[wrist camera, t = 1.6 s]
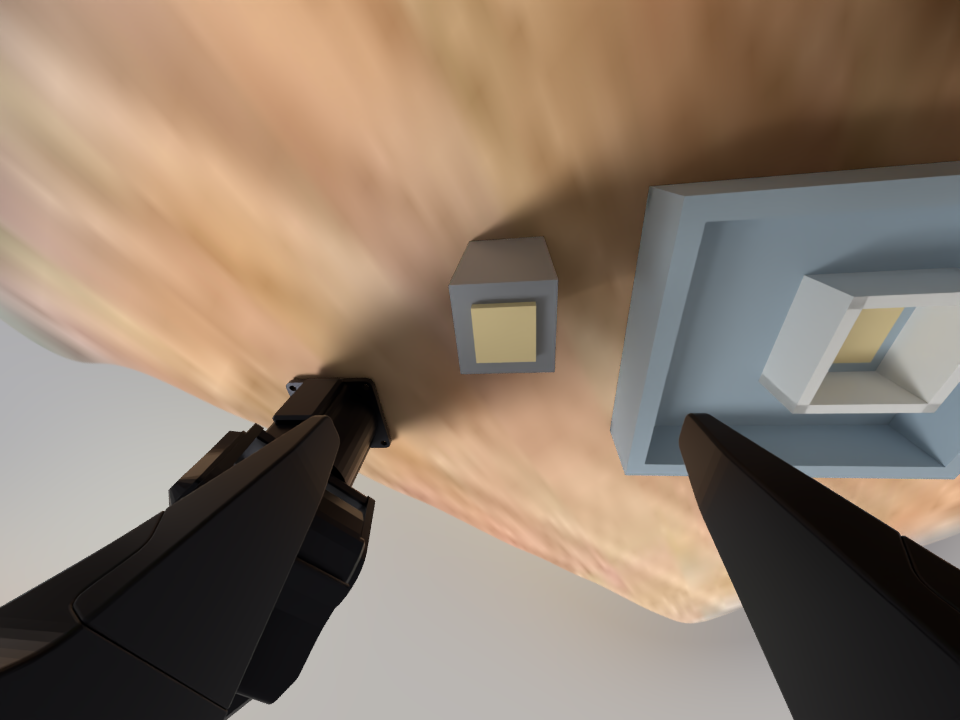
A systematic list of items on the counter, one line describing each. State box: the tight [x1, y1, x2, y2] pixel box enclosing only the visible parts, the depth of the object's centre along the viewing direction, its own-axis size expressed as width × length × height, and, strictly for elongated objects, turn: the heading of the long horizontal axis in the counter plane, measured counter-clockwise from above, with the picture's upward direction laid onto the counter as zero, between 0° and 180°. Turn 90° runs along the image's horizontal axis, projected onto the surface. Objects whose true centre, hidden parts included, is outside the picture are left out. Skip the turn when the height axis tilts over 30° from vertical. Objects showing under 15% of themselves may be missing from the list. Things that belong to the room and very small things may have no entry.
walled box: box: [610, 161, 960, 479], centre depth 18 cm, size 16×18×4 cm
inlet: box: [758, 267, 960, 414], centre depth 17 cm, size 7×7×3 cm
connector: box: [448, 236, 558, 374], centre depth 16 cm, size 4×4×7 cm
